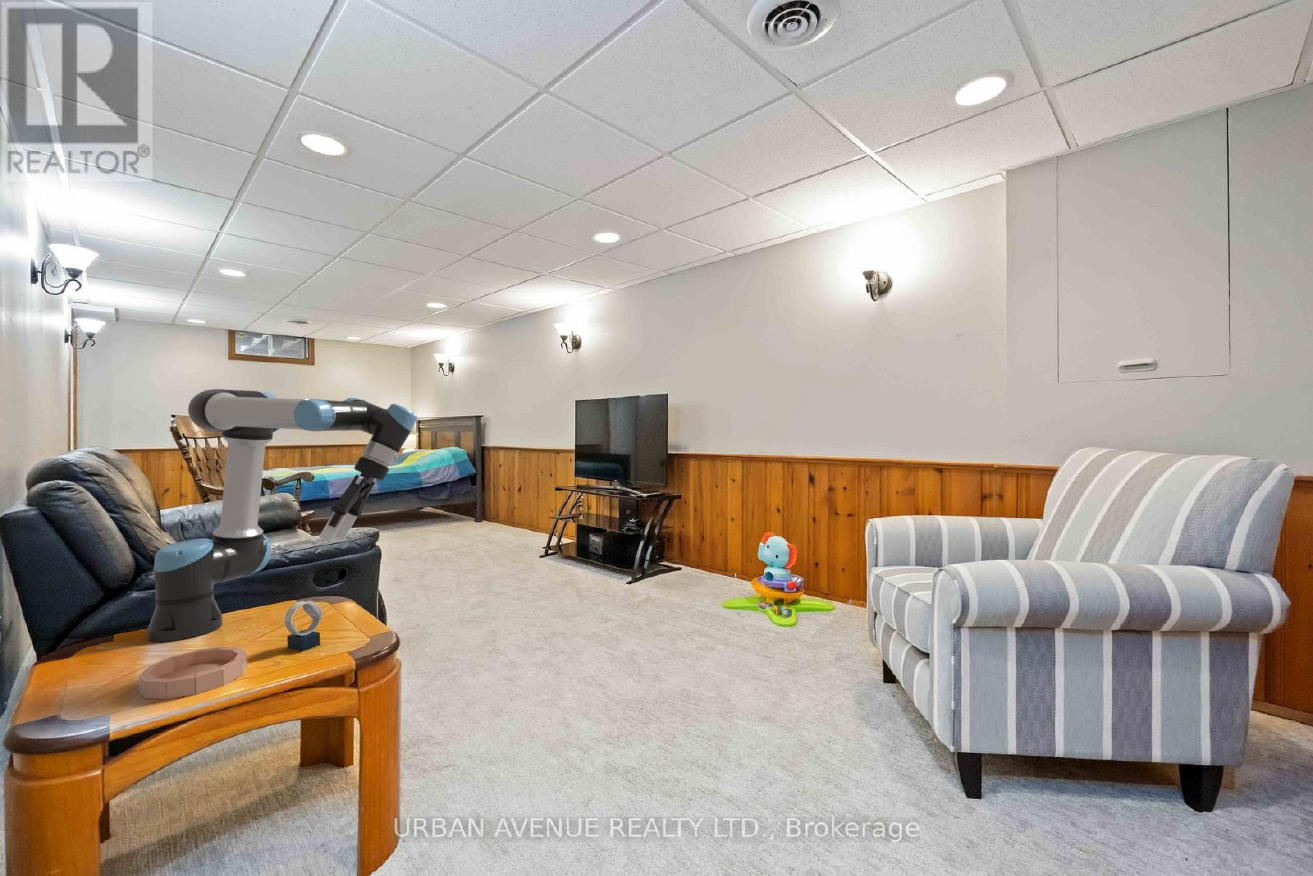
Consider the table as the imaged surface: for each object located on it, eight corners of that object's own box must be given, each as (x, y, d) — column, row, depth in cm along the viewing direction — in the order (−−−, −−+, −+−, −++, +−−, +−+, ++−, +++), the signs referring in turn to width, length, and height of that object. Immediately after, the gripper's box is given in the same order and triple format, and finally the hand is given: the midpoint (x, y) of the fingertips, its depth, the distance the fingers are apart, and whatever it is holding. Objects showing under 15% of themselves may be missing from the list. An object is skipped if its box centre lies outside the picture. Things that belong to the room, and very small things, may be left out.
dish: (131, 684, 115) (130, 667, 115) (229, 656, 129) (229, 641, 129) (154, 707, 105) (154, 689, 105) (258, 674, 119) (257, 658, 119)
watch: (327, 642, 137) (326, 598, 137) (295, 654, 129) (294, 608, 129) (312, 639, 139) (311, 596, 139) (280, 651, 132) (278, 605, 131)
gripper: (382, 462, 130) (335, 546, 125) (396, 471, 154) (357, 543, 148) (351, 449, 129) (301, 533, 123) (370, 460, 152) (329, 531, 147)
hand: (331, 538), depth 136 cm, fingers open, 13 cm apart
